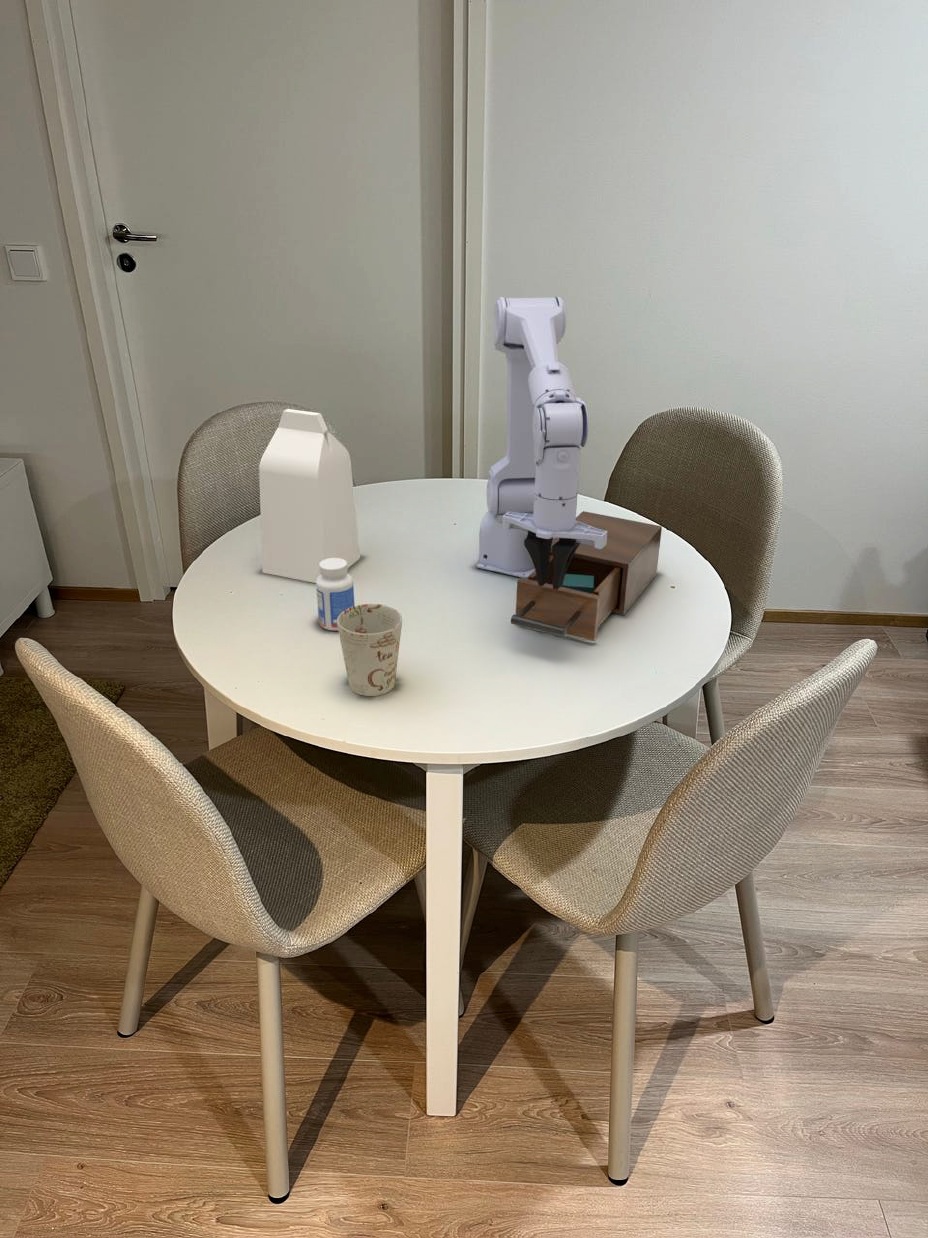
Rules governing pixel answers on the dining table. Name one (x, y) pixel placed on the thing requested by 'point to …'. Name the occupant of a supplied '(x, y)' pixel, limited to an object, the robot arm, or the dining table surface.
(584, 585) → the tea box
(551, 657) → the dining table surface
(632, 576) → the cabinet
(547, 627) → the drawer
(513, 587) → the dining table surface
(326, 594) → the pill bottle
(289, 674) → the dining table surface
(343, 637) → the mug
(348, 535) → the milk
